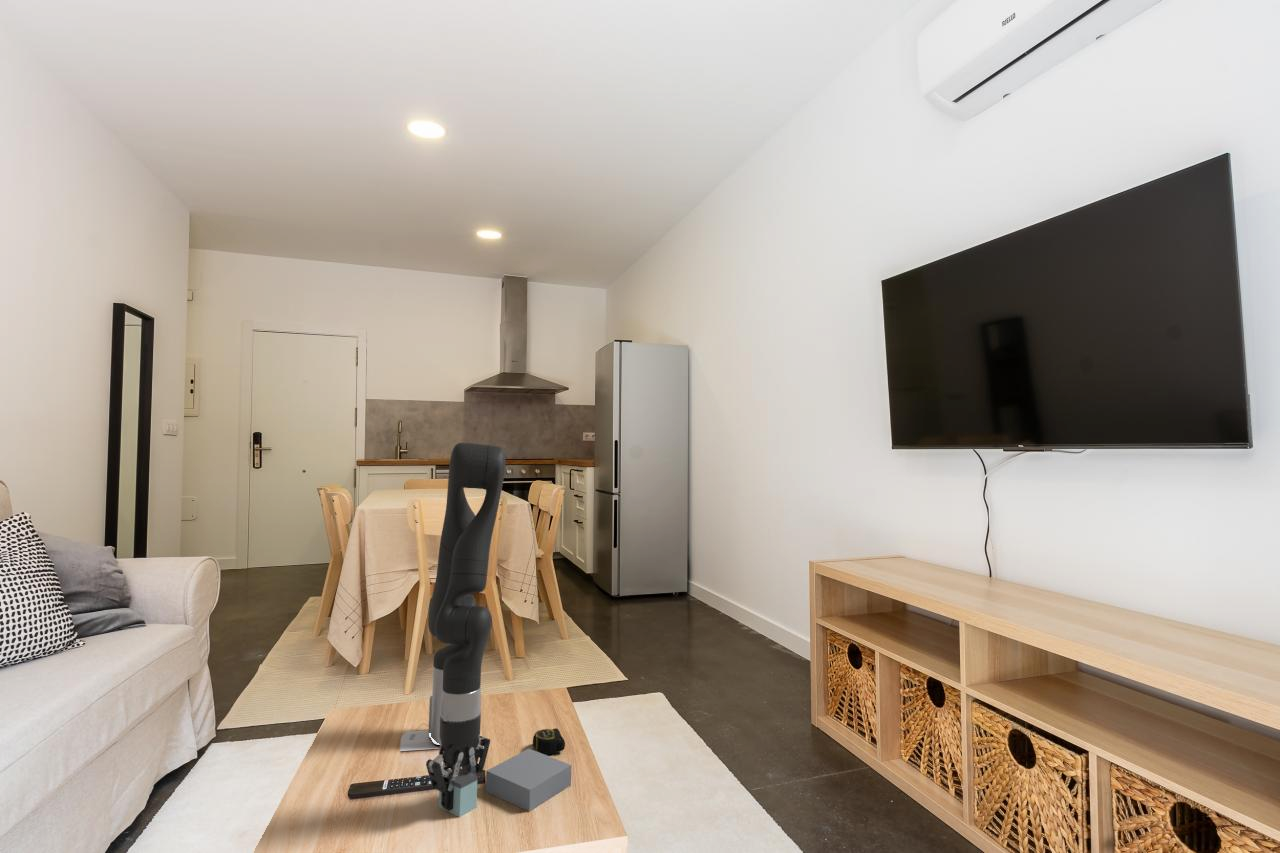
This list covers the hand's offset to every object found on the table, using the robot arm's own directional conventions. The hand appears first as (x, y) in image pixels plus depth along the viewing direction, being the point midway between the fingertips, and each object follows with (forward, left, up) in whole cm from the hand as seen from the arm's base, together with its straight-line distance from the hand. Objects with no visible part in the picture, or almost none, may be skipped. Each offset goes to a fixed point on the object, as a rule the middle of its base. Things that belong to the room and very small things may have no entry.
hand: (457, 802), depth 120 cm
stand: (+6, +13, -1) cm, 14 cm away
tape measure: (-2, +28, -1) cm, 29 cm away
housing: (0, 0, -1) cm, 1 cm away
